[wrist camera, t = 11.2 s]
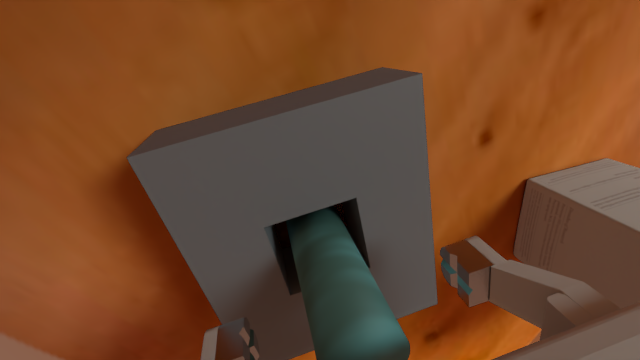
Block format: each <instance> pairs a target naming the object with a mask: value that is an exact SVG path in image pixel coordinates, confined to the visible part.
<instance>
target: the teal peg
mask: <svg viewBox="0 0 640 360" xmlns="http://www.w3.org/2000/svg"><path fill="white" fill-rule="evenodd" d="M286 225H287V230H288V234H289V239H290V243H291V248H292V252H293V256H294V261H295V265H296V270H297V274H298V278H299V283H300V287H301V292H302V296H303V301H304V305H305V309H306V314H307V318H308V323H309V327H310V332H311V336H312V340H313V345H314V349H315V354H316V358H317V360H408V357H409V354H410V345H409V341H408V339H407V338H406V336H405V334H404V332H403V330H402V329H401V327H400V325H399V323H398V321H397V319H396V318H395V316H394V314H393V312H392V310H391V309H390V307H389V305H388V303H387V301H386V300H385V298H384V296H383V294H382V292H381V290H380V289H379V287H378V285H377V283H376V281H375V280H374V278H373V276H372V274H371V272H370V271H369V269H368V267H367V265H366V263H365V261H364V260H363V258H362V256H361V254H360V252H359V251H358V249H357V247H356V245H355V243H354V242H353V240H352V238H351V236H350V234H349V232H348V231H347V229H346V227H345V225H344V223H343V222H342V220H341V218H340V216H339V214H338V213H337V211H336V209H335V207H334V205H332V206H329V207H326V208H323V209H320V210H317V211H314V212H311V213H307V214H304V215H301V216H298V217H295V218H292V219H289V220H286Z"/></svg>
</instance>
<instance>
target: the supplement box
mask: <svg viewBox="0 0 640 360" xmlns="http://www.w3.org/2000/svg"><path fill="white" fill-rule="evenodd" d="M513 254H514V256H515V257H516V258H518V259H519V260H520V261H521V262H523V263H524V264H527V265H530V266H533V267H536V268H540V269H543V270H546V271H550V272H553V273H556V274H559V275H563V276H566V277H569V278H572V279H576V280H579V281H582V282H585V283H586V284H587V285H589V286H590V287H592V288H593V289H594V290H596V291H597V292H599V293H600V294H601V295H603V296H604V297H606V298H607V299H608V300H610V301H611V302H613V303H614V304H615V305H617V306H618V307H620V308H623V307H626V306H628V305H631V304H633V303H636V302H639V301H640V168H637V167H634V166H631V165H627V164H624V163H621V162H617V161H614V160H611V159H608V158H606V159H602V160H598V161H595V162H591V163H587V164H583V165H580V166H576V167H572V168H568V169H565V170H561V171H557V172H553V173H549V174H545V175H542V176H538V177H534V178H530V179H528V180H527V184H526V188H525V193H524V198H523V203H522V208H521V213H520V218H519V223H518V228H517V234H516V240H515V244H514V251H513Z"/></svg>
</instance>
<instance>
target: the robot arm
mask: <svg viewBox="0 0 640 360" xmlns="http://www.w3.org/2000/svg"><path fill="white" fill-rule="evenodd" d="M440 255H441V256H442V258H443V261H442V262H441V269H442V272H443V275H444V277H445V279H446V280H447V282H448V283H449V284H450V285H451V286H453V287H455V288H457V289H458V295H459V296H460V297H461V299H462V300H463V301H464V302H465V303H466V304H467V306H468V307H472V306H475V305H478V304H480V303H483V302H486V301H489V302H491V303H493V304H495V305H497V306H499V307H501V308H503V309H505V310H506V311H508V312H510V313H512V314H514V315H516V316H518V317H520V318H522V319H524V320H526V321H528V322H530V323H532V324H534V325H536V326H537V327H539V328H541V329H542V330H541V336H540V341H538V342H535V343H533V344H530V345H528V346H525V347H522V348H520V349H517V350H515V351H512V352H510V353H507V354H505V355H502V356H500V357H497V358H495V359H492V360H640V301H639V302H636V303H633V304H631V305H628V306H626V307H623V308H620V307H618V306H617V305H615V304H614V303H613V302H611V301H610V300H608V299H607V298H606V297H604V296H603V295H601V294H600V293H599V292H597V291H596V290H594V289H593V288H592V287H590V286H589V285H587V284H586V283H585V282H582V281H579V280H576V279H572V278H569V277H566V276H563V275H559V274H556V273H553V272H550V271H546V270H543V269H540V268H536V267H533V266H530V265H527V264H523V263H520V262H517V261H514V260H506V259H504V258H503V257H502V256H501V255H500V254H498V253H497V252H496V251H495V250H494V249H492V248H491V247H490V246H489V245H488V244H486V243H485V242H484V241H483V240H482V239H480V238H479V237H477V236H473V237H470V238H467V239H465V240H462V241H459V242H456V243H453V244H451V245H448V246H445V247H442V248H441V250H440ZM258 358H259V345H258V340H257V337H256V334H255V332H254V330H252V329H250V323H249V321H248V319H247V317H244V318H241V319H238V320H235V321H232V322H229V323H226V324H223V325H220V326H217V327H214V328H211V329H208V330H206V332H205V334H204V340H203V346H202V353H201V359H200V360H258Z"/></svg>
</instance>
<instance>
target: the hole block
mask: <svg viewBox="0 0 640 360" xmlns="http://www.w3.org/2000/svg"><path fill="white" fill-rule="evenodd" d="M127 160H128V161H129V163H130V165H131V166H132V168H133V170H134V172H135V173H136V175H137V177H138V179H139V180H140V182H141V184H142V186H143V187H144V189H145V191H146V193H147V194H148V196H149V198H150V200H151V201H152V203H153V205H154V207H155V208H156V210H157V212H158V214H159V215H160V217H161V219H162V220H163V222H164V224H165V226H166V227H167V229H168V231H169V233H170V234H171V236H172V238H173V240H174V241H175V243H176V245H177V247H178V248H179V250H180V252H181V254H182V255H183V257H184V259H185V261H186V262H187V264H188V266H189V268H190V269H191V271H192V273H193V274H194V276H195V278H196V280H197V281H198V283H199V285H200V287H201V288H202V290H203V292H204V294H205V295H206V297H207V299H208V301H209V302H210V304H211V306H212V308H213V309H214V311H215V313H216V315H217V316H218V318H219V320H220V322H221V323H222V325H223V324H226V323H229V322H232V321H235V320H238V319H241V318H244V317H247V319H248V321H249V323H250V329H252V330H254V332H255V334H256V337H257V340H258V345H259V358H258V360H289V359H292V358H294V357H297V356H300V355H302V354H305V353H308V352H310V351H313V350H315V349H314V345H313V340H312V336H311V332H310V327H309V323H308V318H307V314H306V309H305V305H304V301H303V296H302V292H301V287H300V283H299V278H298V274H297V270H296V265H295V261H294V256H293V252H292V248H291V247H288V248H285V249H282V247H281V245H280V242H279V239H278V237H277V234H276V231H275V228H274V226H273V225H274V224H277V223H280V222H283V221H286V220H289V219H292V218H295V217H298V216H301V215H304V214H307V213H311V212H314V211H317V210H320V209H323V208H326V207H329V206H332V205H335V204H338V203H341V202H342V204H343V209H344V213H345V217H346V222H347V226H348V227H347V228H346V229H347V231H348V232H349V234H350V236H351V238H352V240H353V242H354V243H355V245H356V247H357V249H358V251H359V252H360V254H361V256H362V258H363V260H364V261H365V263H366V265H367V267H368V269H369V271H370V272H371V274H372V276H373V278H374V280H375V281H376V283H377V285H378V287H379V289H380V290H381V292H382V294H383V296H384V298H385V300H386V301H387V303H388V305H389V307H390V309H391V310H392V312H393V314H394V316H395V318H396V319H398V318H401V317H404V316H406V315H409V314H412V313H414V312H417V311H420V310H422V309H425V308H428V307H430V306H433V305H436V304H438V303H437V288H436V273H435V258H434V243H433V228H432V214H431V199H430V184H429V169H428V154H427V139H426V125H425V110H424V95H423V80H422V73H416V72H410V71H403V70H396V69H390V68H383V67H382V68H378V69H375V70H371V71H368V72H364V73H360V74H357V75H353V76H350V77H346V78H343V79H339V80H335V81H332V82H328V83H325V84H321V85H317V86H314V87H310V88H307V89H303V90H300V91H296V92H292V93H289V94H285V95H282V96H278V97H274V98H271V99H267V100H264V101H260V102H257V103H253V104H249V105H246V106H242V107H239V108H235V109H231V110H228V111H224V112H221V113H217V114H213V115H210V116H206V117H203V118H199V119H196V120H192V121H188V122H185V123H181V124H178V125H174V126H170V127H167V128H163V129H160V130H156V131H155V132H154V133H153V134H152V135H151V136H149V137H148V138H147V139H146V140H145V141H144V142H143V143H142V144H141V145H140V146H139V147H138V148H136V149H135V150H134V151H133V152H132V153H131V154H130V155H129V156H128V157H127Z"/></svg>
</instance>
